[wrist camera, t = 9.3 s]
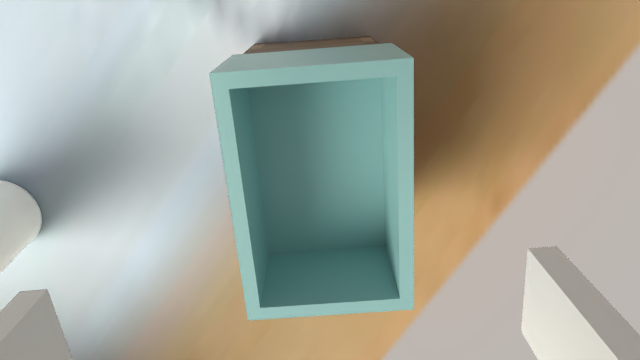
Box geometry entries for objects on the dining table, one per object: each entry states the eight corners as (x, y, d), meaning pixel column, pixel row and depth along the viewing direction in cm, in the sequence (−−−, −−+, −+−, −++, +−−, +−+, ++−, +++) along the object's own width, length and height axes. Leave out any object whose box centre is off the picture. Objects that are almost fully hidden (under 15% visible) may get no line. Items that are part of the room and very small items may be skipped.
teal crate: (236, 52, 26) (209, 73, 20) (388, 40, 26) (413, 57, 20) (262, 248, 31) (248, 320, 24) (392, 240, 31) (413, 309, 24)
